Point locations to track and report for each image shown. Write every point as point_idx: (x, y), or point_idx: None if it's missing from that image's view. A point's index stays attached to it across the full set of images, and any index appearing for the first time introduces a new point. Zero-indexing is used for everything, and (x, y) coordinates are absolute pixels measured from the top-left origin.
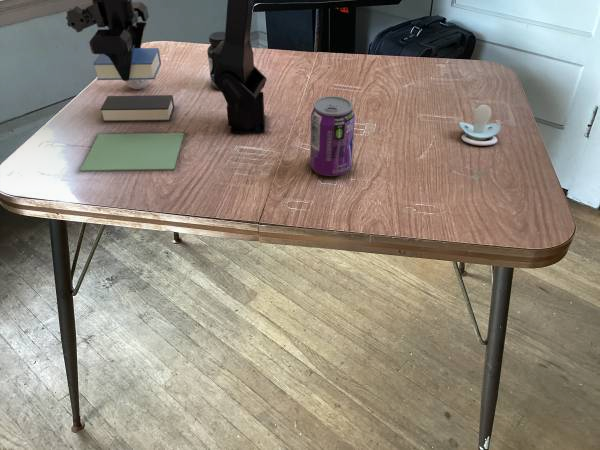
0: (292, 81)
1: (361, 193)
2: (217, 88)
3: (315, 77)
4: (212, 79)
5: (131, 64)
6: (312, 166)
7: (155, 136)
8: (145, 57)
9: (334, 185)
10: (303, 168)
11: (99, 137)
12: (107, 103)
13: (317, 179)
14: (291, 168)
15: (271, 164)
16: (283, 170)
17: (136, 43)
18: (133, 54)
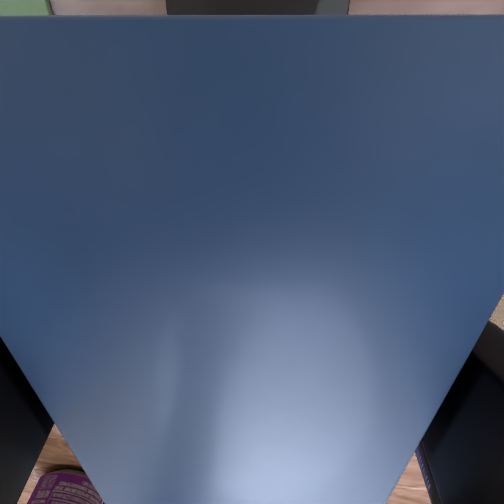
0: (405, 471)
1: (27, 491)
2: None
3: (411, 494)
4: None
5: (52, 426)
6: (47, 478)
7: None
8: (191, 485)
9: (33, 476)
10: (63, 458)
11: (15, 11)
12: (238, 4)
13: (39, 466)
14: (57, 448)
15: (58, 431)
16: (46, 441)
17: (457, 490)
18: (254, 432)
